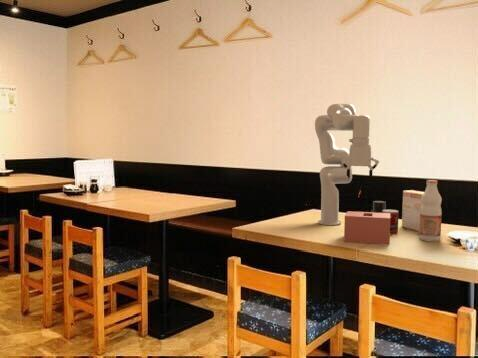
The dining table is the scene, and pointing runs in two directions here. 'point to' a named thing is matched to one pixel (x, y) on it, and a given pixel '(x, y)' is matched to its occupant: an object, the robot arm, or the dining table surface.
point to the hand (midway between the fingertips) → (359, 178)
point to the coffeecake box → (411, 209)
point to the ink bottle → (378, 206)
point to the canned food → (393, 220)
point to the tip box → (367, 227)
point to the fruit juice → (430, 213)
